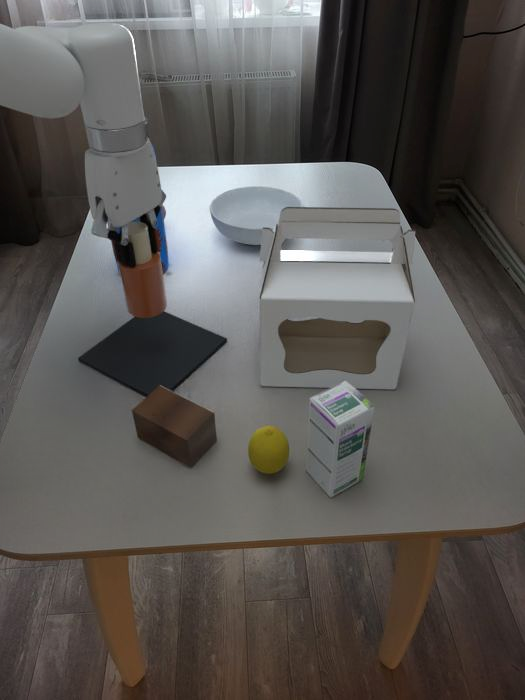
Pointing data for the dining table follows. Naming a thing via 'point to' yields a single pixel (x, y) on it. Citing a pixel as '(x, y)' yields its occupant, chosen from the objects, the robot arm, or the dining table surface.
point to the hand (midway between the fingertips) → (138, 256)
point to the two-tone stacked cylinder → (143, 276)
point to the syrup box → (338, 437)
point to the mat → (153, 352)
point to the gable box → (335, 300)
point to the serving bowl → (250, 211)
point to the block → (175, 425)
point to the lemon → (268, 449)
